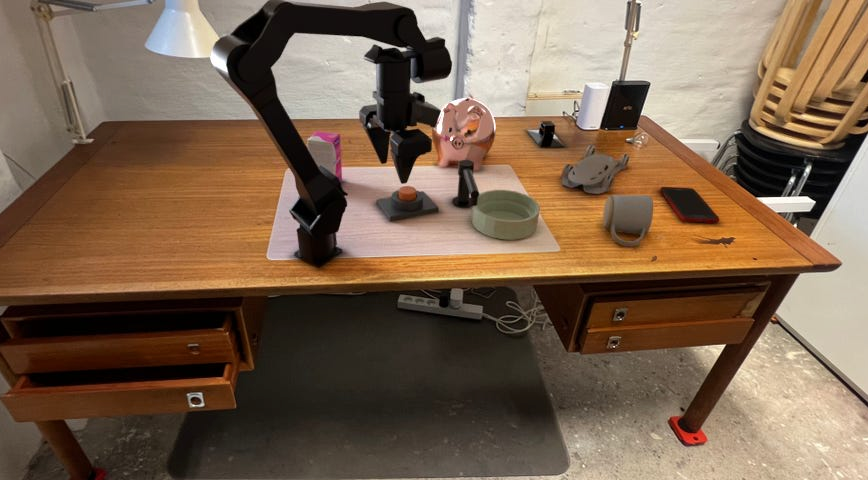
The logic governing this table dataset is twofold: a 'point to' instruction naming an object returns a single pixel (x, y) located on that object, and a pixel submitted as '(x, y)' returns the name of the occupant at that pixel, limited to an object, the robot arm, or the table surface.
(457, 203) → the black faucet base
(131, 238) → the table surface
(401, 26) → the robot arm
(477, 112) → the piggy bank
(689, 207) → the cell phone
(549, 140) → the build plate
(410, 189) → the orange button
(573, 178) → the grey flat lobed piece
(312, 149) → the supplement box
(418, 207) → the button panel
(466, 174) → the spout
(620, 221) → the ceramic mug
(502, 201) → the basin
